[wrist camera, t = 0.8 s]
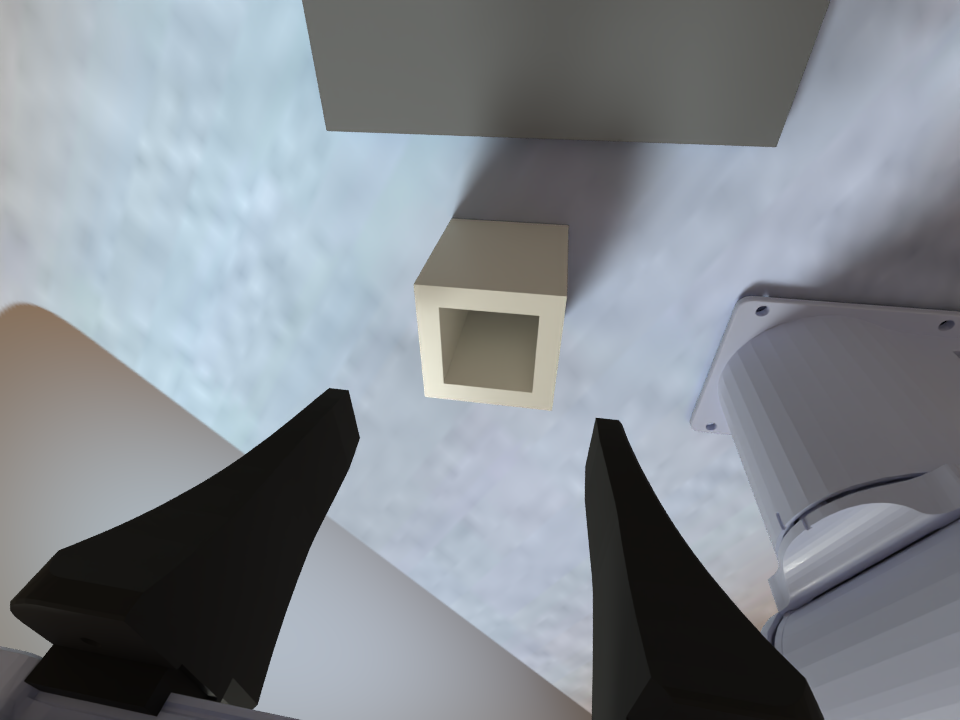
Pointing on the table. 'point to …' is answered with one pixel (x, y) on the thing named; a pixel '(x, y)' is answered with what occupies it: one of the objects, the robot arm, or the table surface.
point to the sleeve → (493, 312)
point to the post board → (564, 67)
